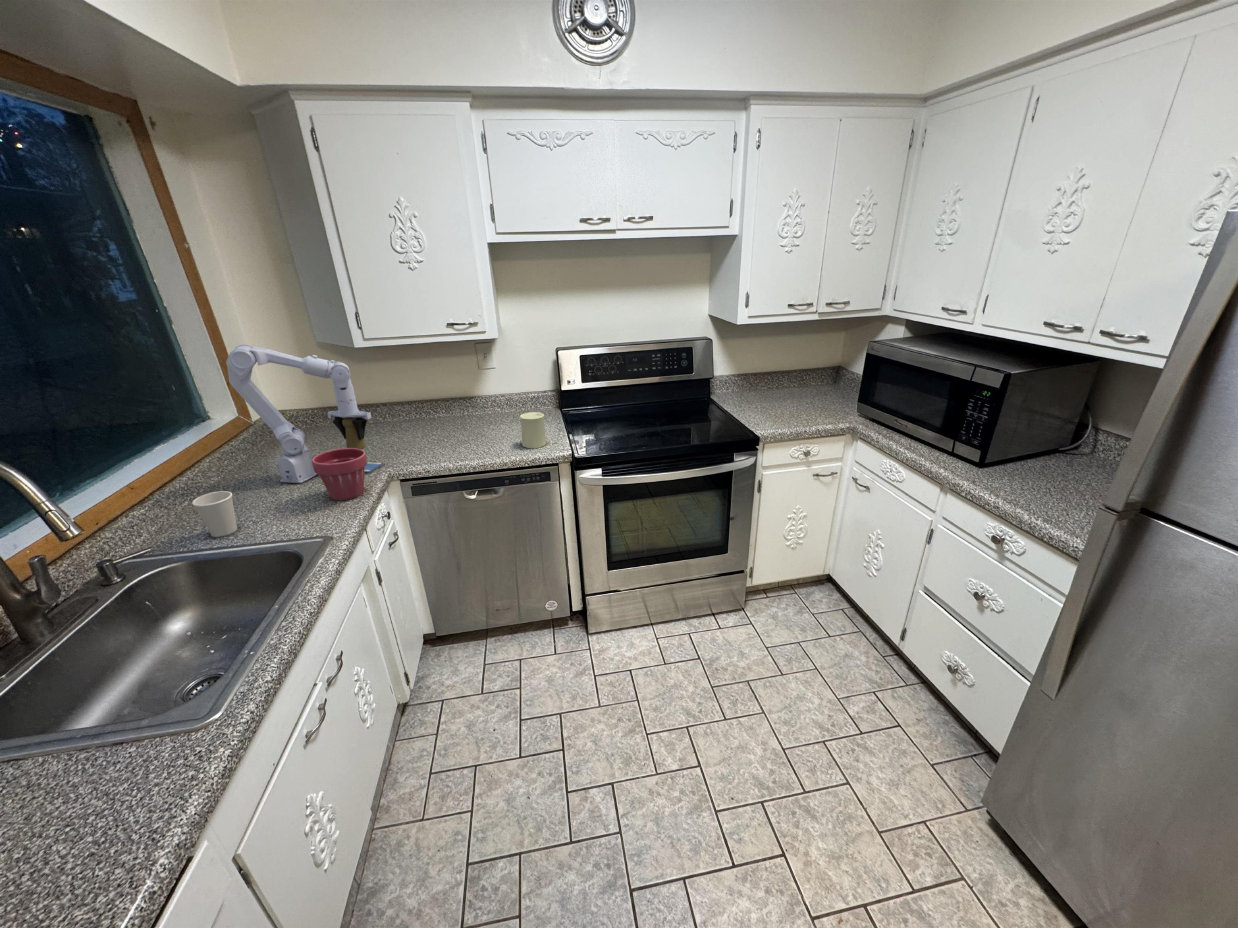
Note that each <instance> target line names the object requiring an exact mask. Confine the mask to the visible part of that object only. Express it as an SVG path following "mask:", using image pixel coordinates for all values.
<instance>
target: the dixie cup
mask: <svg viewBox="0 0 1238 928" xmlns="http://www.w3.org/2000/svg"><path fill="white" fill-rule="evenodd" d="M191 504H192V505H193V506H194V508H195V509H196V511H197V513H198V515H199V516H200V518H201V520H202V522H203V524H204V525H205V527H206V529H207V530H208V532H209V534H210V536H211V537H215V538H220V537H224V536H228V535H231V534H233V533H235V532H236V531H237V530H238V524H237V519H236V513H235V507H234V500H233V493H232V492H231V491H228V490H227V491H226V490H219V491H213V492H209V493H205V494H202V495H200V496H198V497H196V498H194V499H193V500H192V503H191Z"/></svg>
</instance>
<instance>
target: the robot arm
mask: <svg viewBox="0 0 1238 928" xmlns="http://www.w3.org/2000/svg"><path fill="white" fill-rule="evenodd" d="M269 363H270V364H276V365H282V366H286V367H290V368H297V369H300V370H301V371H302V372H303V374H305V375H310V376H315V377H318V378H323V379H331V380H332V384H333V387H332V389H333V393H334V395H335V401H336V405H337V410H331V411H330V410H329V411H327V417H328V419H333V418H334V419H333V420H332V423H333V424H334V425H335V426H336V428H337V429H338V430H339V432H340V433H341V435H342V437H343V439H344V440H346V431H345V427H344V426H343V424H342V420H343V419H344V418H346V417H351V418H356V420H353V421H352V423H353V425H354V427H355V429H356V432H357V436H358V439H359V440H361V439H365V435H366V434H365V432H366V426H367V424H368V421H369V420H371V419H372V413H371V412H370V411H369V412H368V411H363V410H359V409H358V403H357V399H356V394H355V388H354V385H353V384H352V379H351V376H352V373H351V371H350V367H349V366H348V365H347V364H346V363H344V362H342V361H335V360H333V359H331V360H328V359H324V358H319V357H318V355H317V354H316V355H315V354H312V356H311V355H307V356H305V357H299V356H296V355H291V354H288V353H284V352H280V351H277V350H273V349H270V348H266V347H261V346H251V345H249V344H239V345H237V346H236V347H235V348H234V349H232V350H231V351H230V352H229V354H228V356H227V359H226V361H225V364H226V369H227V375H228V382H229V384H230V386H231V387H232V388H233V389H234V390H235V391H236V392H237V393H238V394H239V395H240V397H241V398H242V399H243V400H244V401H245V402H246V403H247V404H248V405H249V406H250V407H251V409H252V410H253V411H254V412H255V413H256V414H257V415H258V416H259V417H260V418H261V420H262V421H263V422H264V423H265V424H266V426H268V427H269V429H270V430H271V431H273V434H274V437H275V439H276V440H278V442H279V444H280V448H281V450H282V454H283V455H282V456H281V457H280V458H279V459H278V460H277V468H278V471H279V475H280V478H281V479H280V480H279V482H280V483H293V484H303V483H305V482H306V481H308V480H311V479H312V478H314V477H316V476H317V475H318V474H316V473H315V472H314V468H313V464H312V459H313V458H312V456H311V455H312V454H311V451H310V448H309V447H308V446H307V445H306V444H305V442H306V434H305V432H304V431H303V430H301V429H299V428H298V427H296V426H294V424H293V423H291V422H290V421H288V420H287V419H286V418H285V417H284V416H283V415H282V413H281V412H280V411H279V410H278V409H277V408H276V407H275V405H274V404H273V402H271V401H270V400H269V398H267V396H266V395H265V394H264V393H263V392H262V390H260V388H259V387H258V386H257V385H256V384H255V383H254V381H253V380H252V379H251V377H252V374H253V368H254V367H255V365H256V364H257V366H263V365H267V364H269Z"/></svg>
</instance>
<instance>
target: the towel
mask: <svg viewBox="0 0 1238 928" xmlns="http://www.w3.org/2000/svg"><path fill="white" fill-rule="evenodd" d="M383 464H384V463H383V462H376V461H375V462H373V461H367V465H366V466H365V469H364V474H370V473H372V472H374V471H375V470H377V469H378V468H380V467H381V466H383Z"/></svg>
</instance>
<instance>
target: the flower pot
mask: <svg viewBox="0 0 1238 928" xmlns="http://www.w3.org/2000/svg"><path fill="white" fill-rule="evenodd" d="M311 459H312V464H313V468H314V472H315V473H316V474H317V475H318V476H319V478H320V480H321V481H322V483H323V486H324V487H325V489H326V490H327V493H328V495H329V496H330V498H331V499H332V500H335V501H347V500H352V499H355V498H358V497H360V496H362V495H363V494H364V492H365V491H364V490H365V489H364V488H365V473H364V469H365V466H366V465H367V462H368V459H367V454H366V451H365V450H364V449H357V448H347V447H342V448H334V449H330V450H326V451H322V452H320V453H318V454H316V455H315V456H313V457H312V458H311Z"/></svg>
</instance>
